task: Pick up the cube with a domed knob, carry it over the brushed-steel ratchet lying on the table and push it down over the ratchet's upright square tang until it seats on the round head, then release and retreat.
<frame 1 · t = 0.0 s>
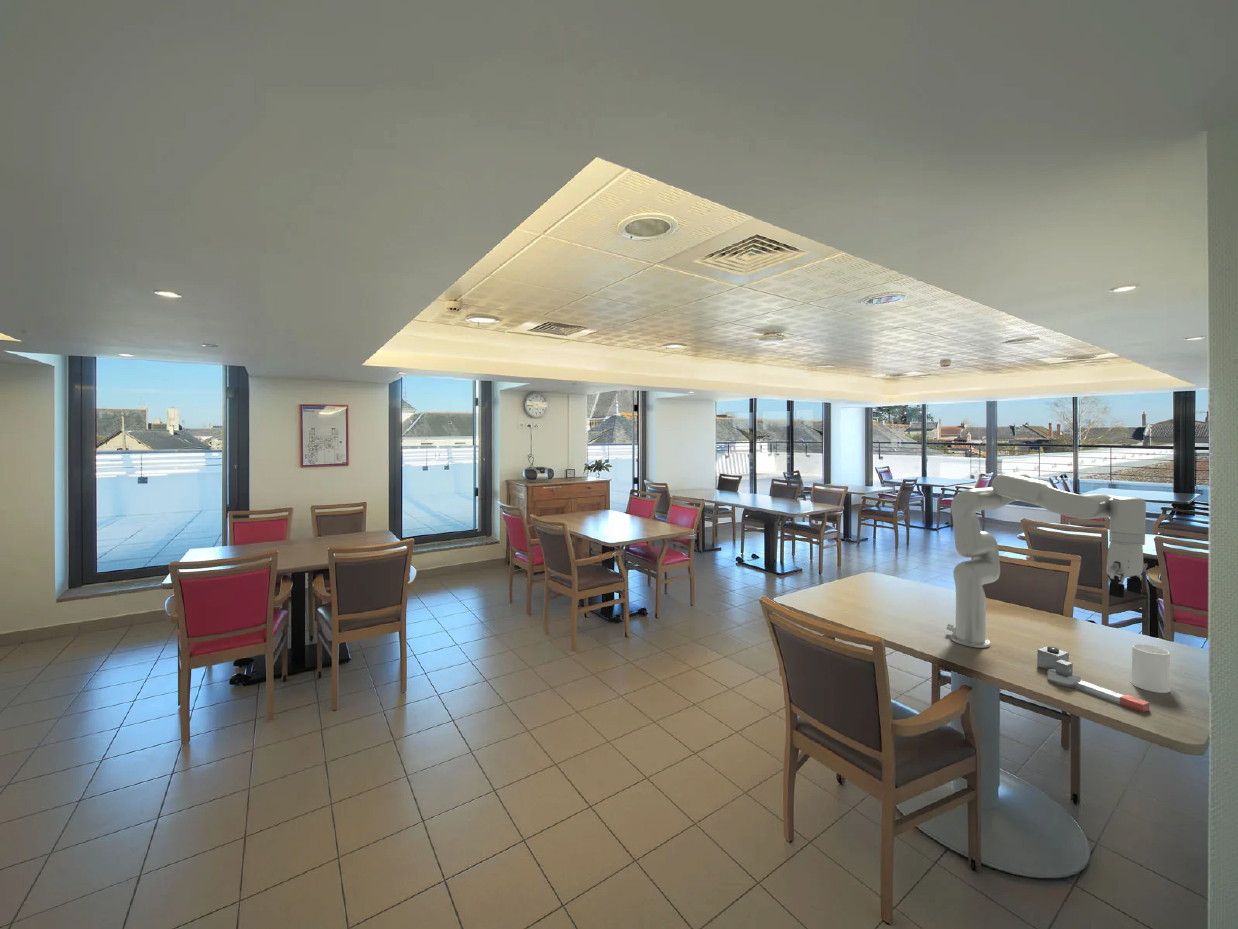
hand: (1125, 594, 150), 31 cm above the table, fingers open, 9 cm apart
mug: (1154, 686, 157), on the table
cube with domed knob: (1052, 668, 170), on the table
ratchet: (1063, 682, 160), on the table
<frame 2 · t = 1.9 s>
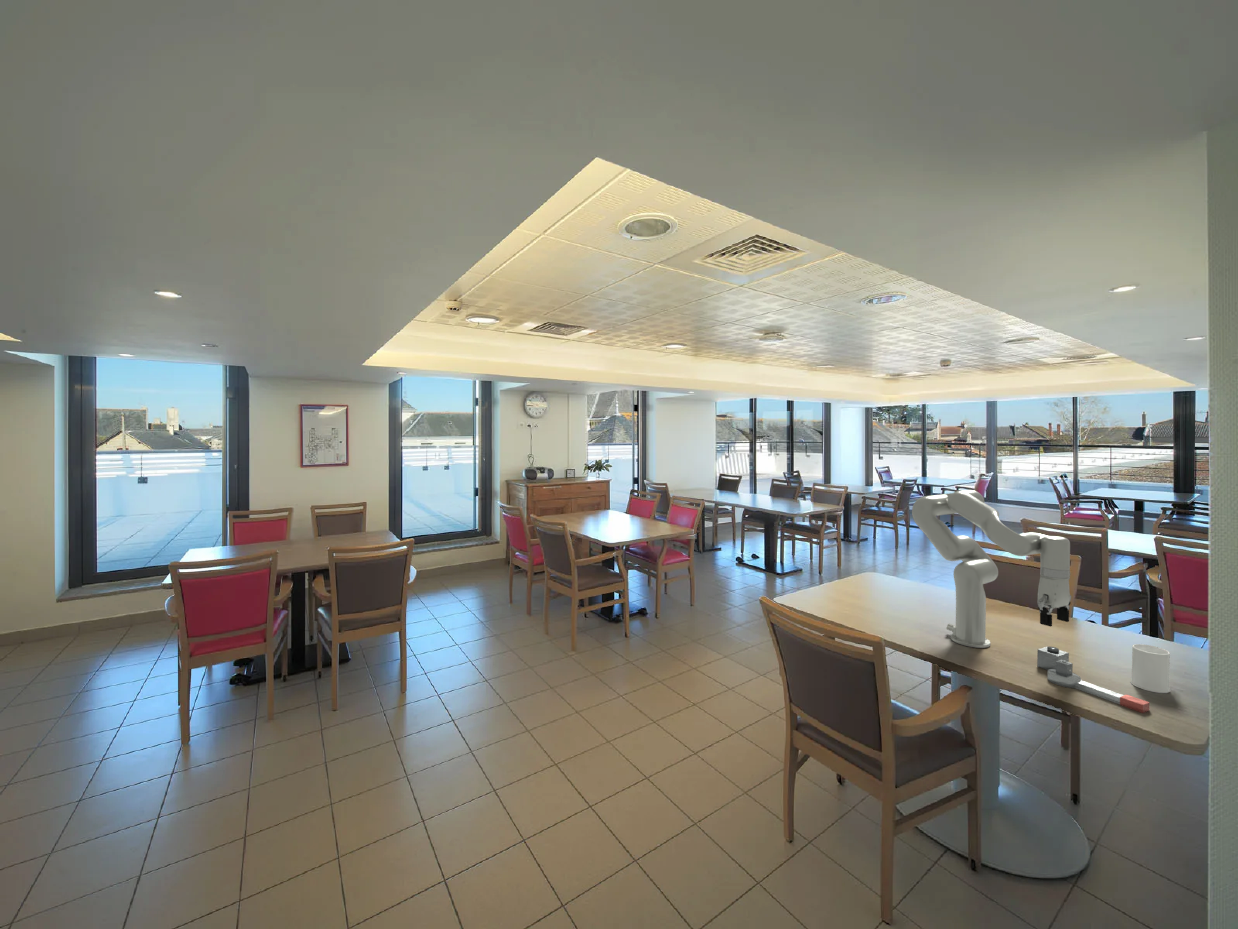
hand: (1054, 623, 169), 16 cm above the table, fingers open, 9 cm apart
nothing on the table moved.
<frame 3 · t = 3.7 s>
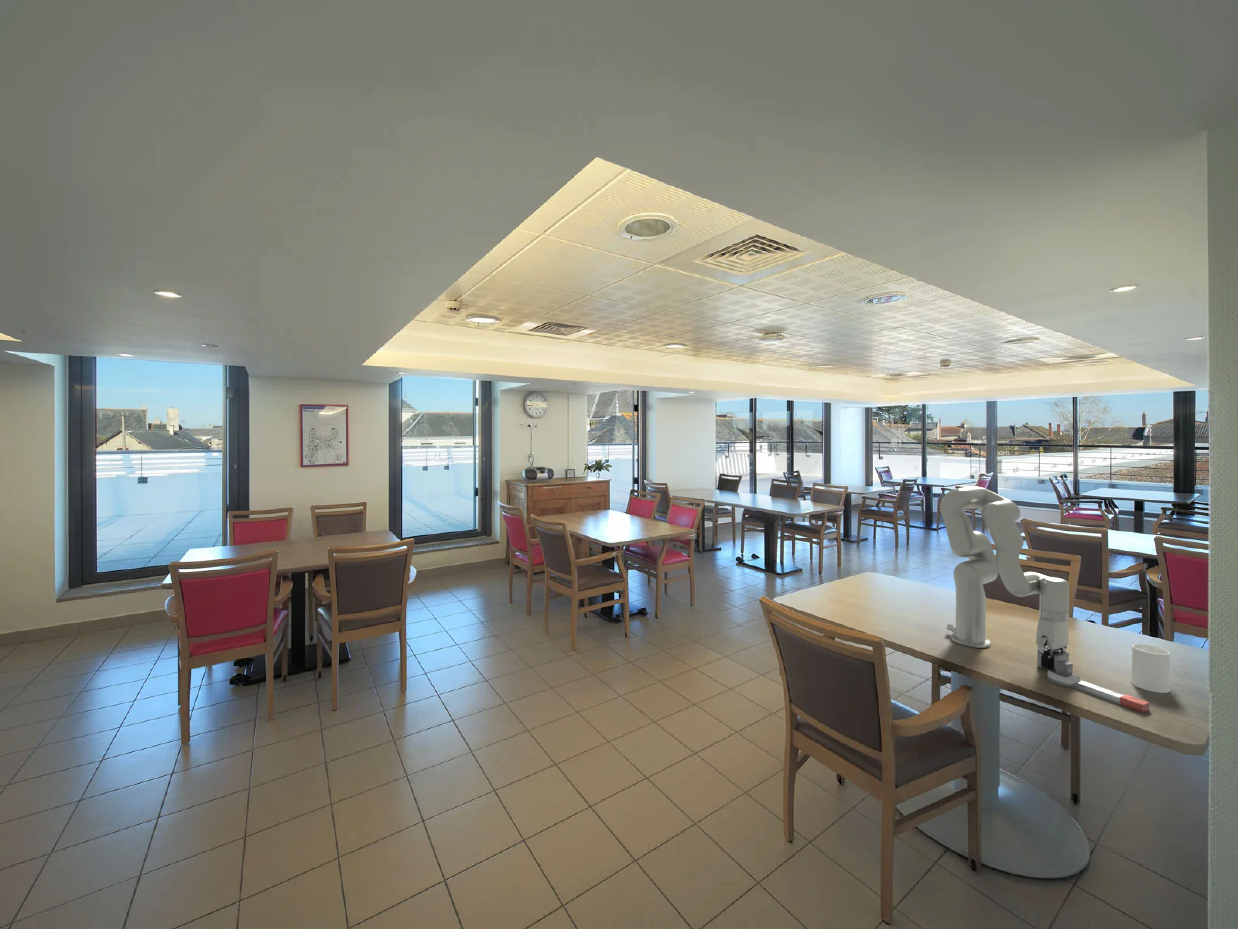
hand: (1052, 665, 170), 1 cm above the table, fingers closed on cube with domed knob, 6 cm apart
cube with domed knob: (1052, 668, 170), on the table, touching gripper
everything else where it was.
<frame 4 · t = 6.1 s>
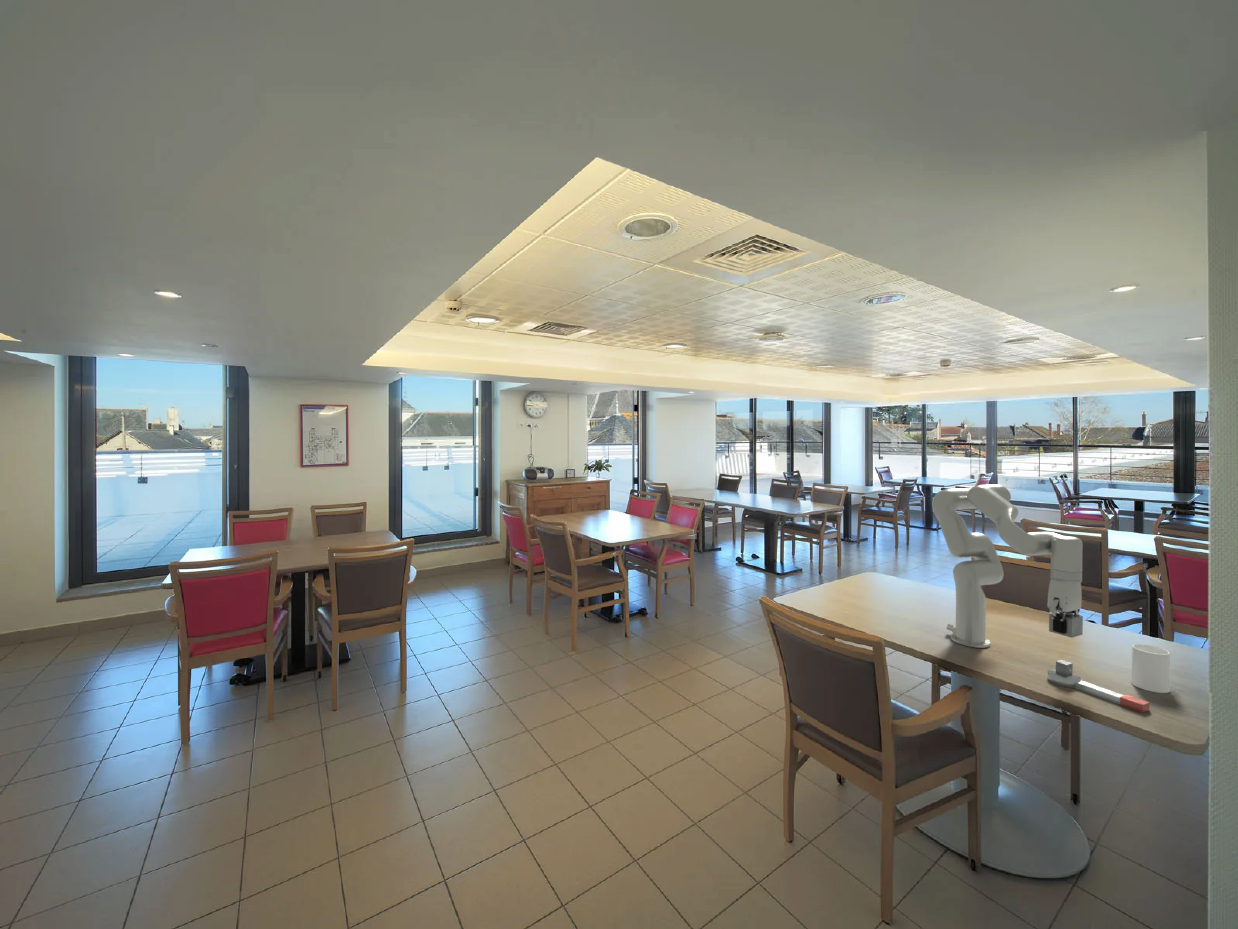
hand: (1065, 630, 159), 17 cm above the table, fingers closed on cube with domed knob, 6 cm apart
cube with domed knob: (1065, 633, 159), point 16 cm above the table, touching gripper
everything else where it was.
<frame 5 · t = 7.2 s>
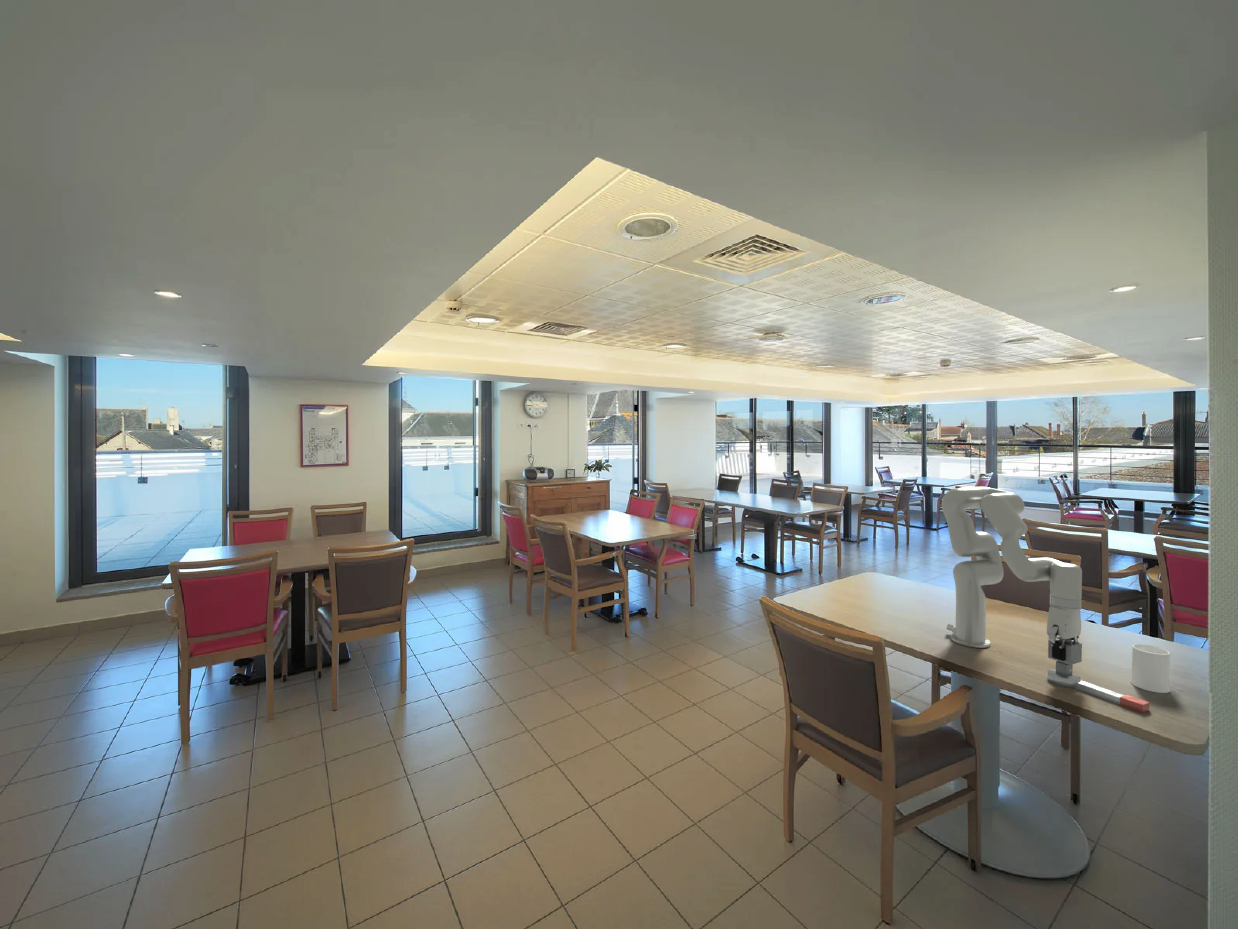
hand: (1064, 656, 160), 8 cm above the table, fingers closed on cube with domed knob, 6 cm apart
cube with domed knob: (1064, 659, 160), point 7 cm above the table, touching gripper
everything else where it was.
when the fingers open (4 cm above the table, at t = 8.4 s): cube with domed knob drops 1 cm, resting on ratchet.
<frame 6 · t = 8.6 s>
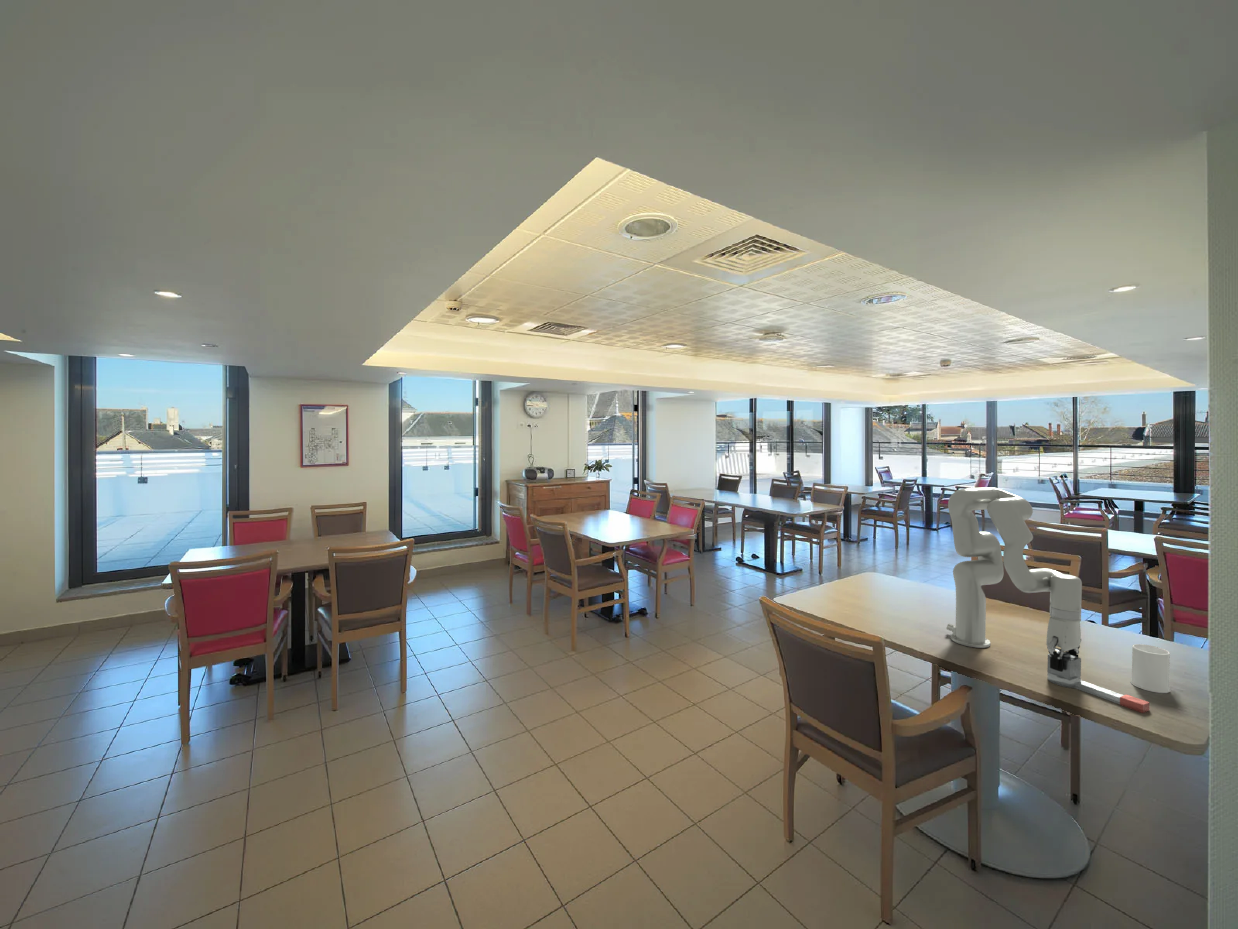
hand: (1064, 667, 160), 5 cm above the table, fingers open, 7 cm apart
cube with domed knob: (1063, 674, 160), point 2 cm above the table, touching ratchet
ratchet: (1063, 682, 160), on the table, touching cube with domed knob
everything else where it was.
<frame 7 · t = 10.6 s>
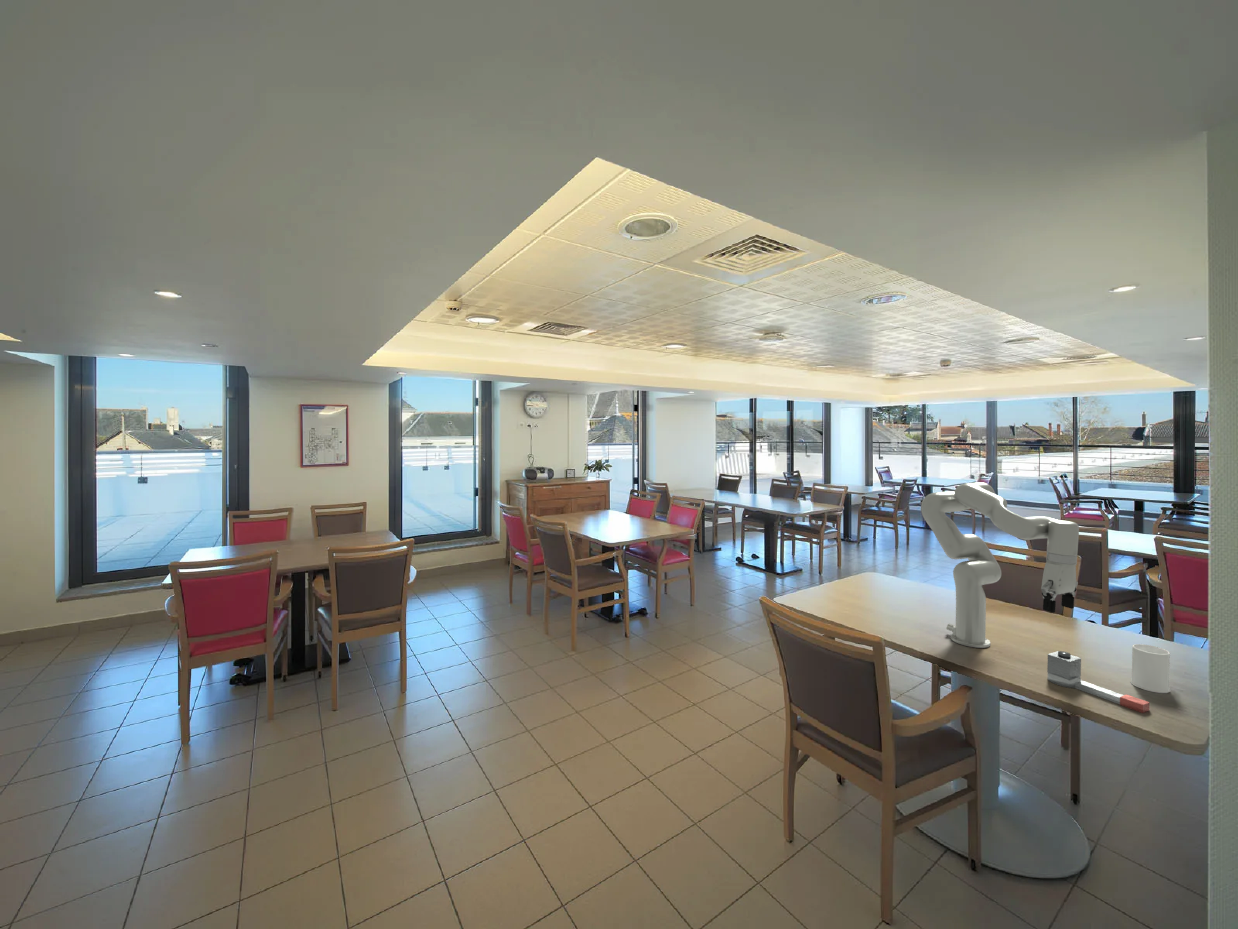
hand: (1058, 609, 164), 22 cm above the table, fingers open, 9 cm apart
nothing on the table moved.
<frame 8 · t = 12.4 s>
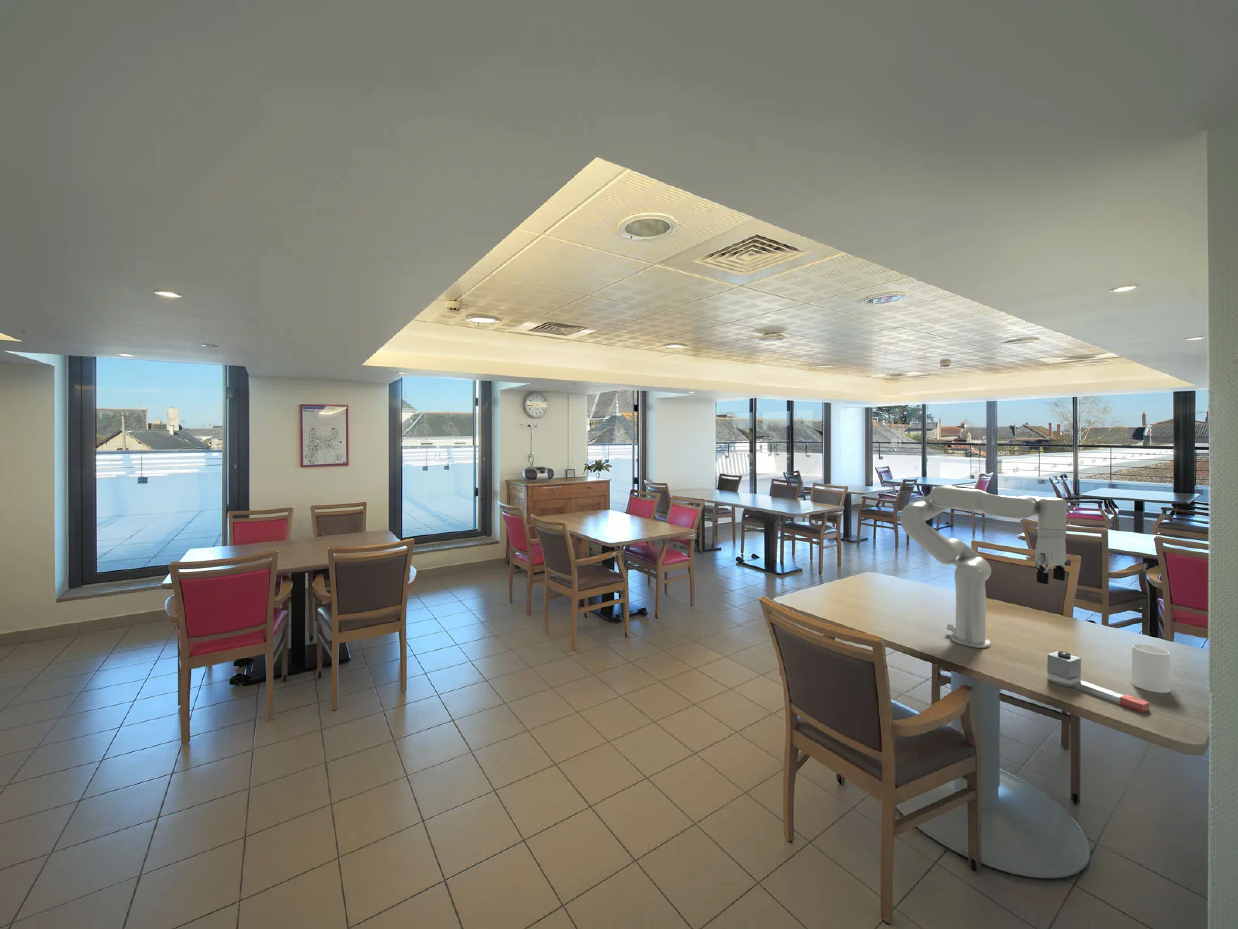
hand: (1050, 581, 175), 28 cm above the table, fingers open, 9 cm apart
nothing on the table moved.
at the end: cube with domed knob 0.1 cm off-centre on the ratchet, point 2.5 cm above the ratchet's base; cube with domed knob tilted 0°; ratchet moved 0.0 cm from its start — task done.
